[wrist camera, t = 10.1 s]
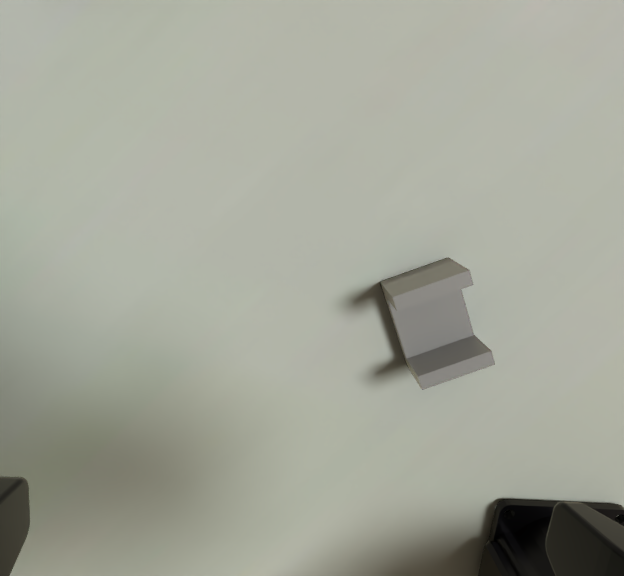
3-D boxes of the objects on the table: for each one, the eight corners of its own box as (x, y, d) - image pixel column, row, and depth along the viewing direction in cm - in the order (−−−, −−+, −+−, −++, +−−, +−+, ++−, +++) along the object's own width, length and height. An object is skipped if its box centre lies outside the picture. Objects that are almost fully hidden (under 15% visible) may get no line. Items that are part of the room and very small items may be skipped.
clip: (448, 257, 21) (469, 270, 19) (472, 342, 22) (495, 364, 20) (379, 281, 21) (392, 297, 19) (407, 365, 22) (422, 389, 20)
